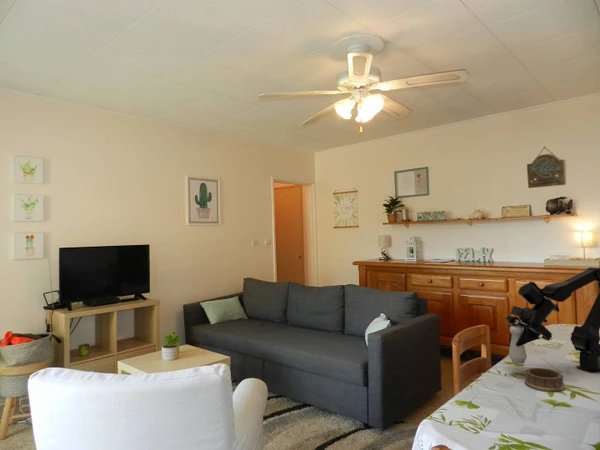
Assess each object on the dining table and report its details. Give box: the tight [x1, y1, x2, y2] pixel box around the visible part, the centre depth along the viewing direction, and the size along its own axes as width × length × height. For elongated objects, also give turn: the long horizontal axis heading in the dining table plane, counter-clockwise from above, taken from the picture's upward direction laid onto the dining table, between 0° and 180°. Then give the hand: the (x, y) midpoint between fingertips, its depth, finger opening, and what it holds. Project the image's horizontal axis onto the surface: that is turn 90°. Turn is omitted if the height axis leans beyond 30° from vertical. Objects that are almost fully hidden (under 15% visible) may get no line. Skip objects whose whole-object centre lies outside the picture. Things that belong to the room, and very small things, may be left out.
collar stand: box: [524, 367, 566, 393], centre depth 136 cm, size 12×12×4 cm
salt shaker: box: [508, 325, 528, 365], centre depth 147 cm, size 6×6×13 cm
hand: (513, 344), depth 147 cm, fingers closed on salt shaker, 3 cm apart
